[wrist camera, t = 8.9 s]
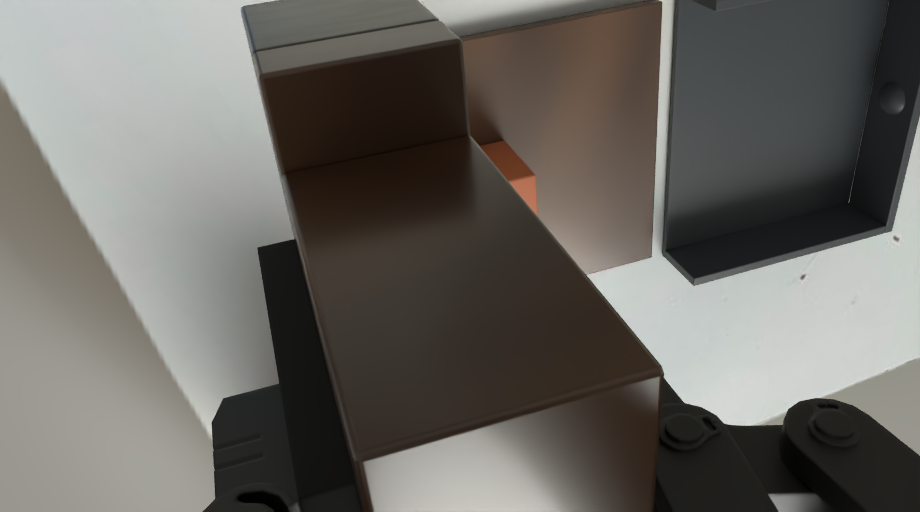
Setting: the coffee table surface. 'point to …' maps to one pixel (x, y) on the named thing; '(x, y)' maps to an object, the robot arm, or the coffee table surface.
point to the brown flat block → (442, 281)
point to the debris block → (514, 171)
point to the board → (577, 122)
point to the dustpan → (786, 128)
